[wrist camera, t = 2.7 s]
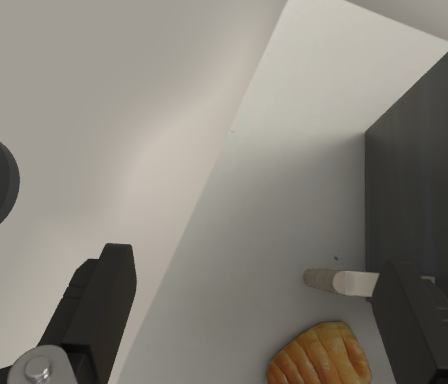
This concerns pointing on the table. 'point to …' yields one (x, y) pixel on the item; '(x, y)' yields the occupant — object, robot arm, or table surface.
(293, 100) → the table surface
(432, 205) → the door
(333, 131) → the table surface
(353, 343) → the pastry
